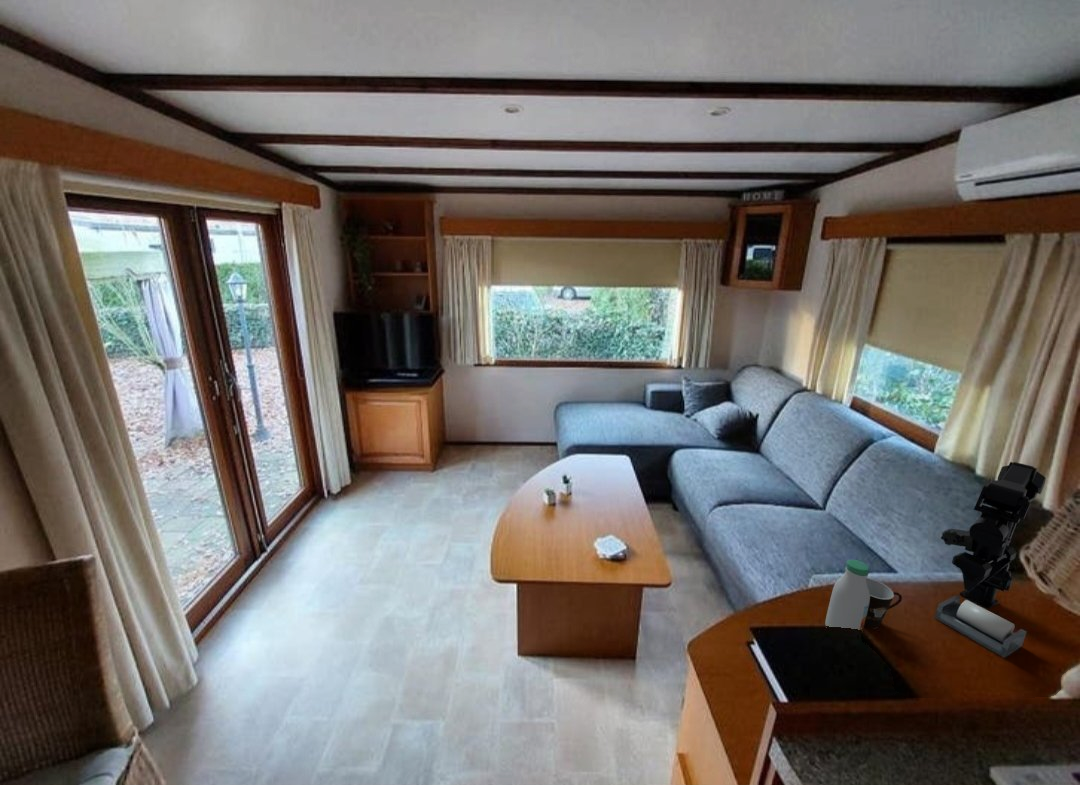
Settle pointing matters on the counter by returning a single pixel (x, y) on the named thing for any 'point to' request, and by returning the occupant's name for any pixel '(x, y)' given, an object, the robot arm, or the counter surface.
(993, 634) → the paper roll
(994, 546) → the robot arm
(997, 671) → the counter surface
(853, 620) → the milk bottle
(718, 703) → the counter surface
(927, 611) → the counter surface
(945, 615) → the cradle holder
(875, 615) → the coffee mug
